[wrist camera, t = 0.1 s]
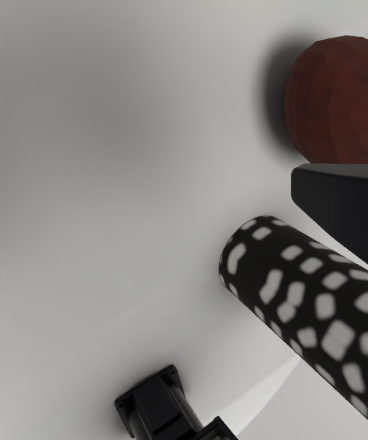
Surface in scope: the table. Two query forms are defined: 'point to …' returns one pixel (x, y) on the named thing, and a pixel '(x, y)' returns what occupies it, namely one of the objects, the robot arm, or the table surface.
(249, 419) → the table surface
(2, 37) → the table surface
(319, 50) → the potato
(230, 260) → the spotted tube
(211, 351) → the table surface
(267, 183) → the table surface
